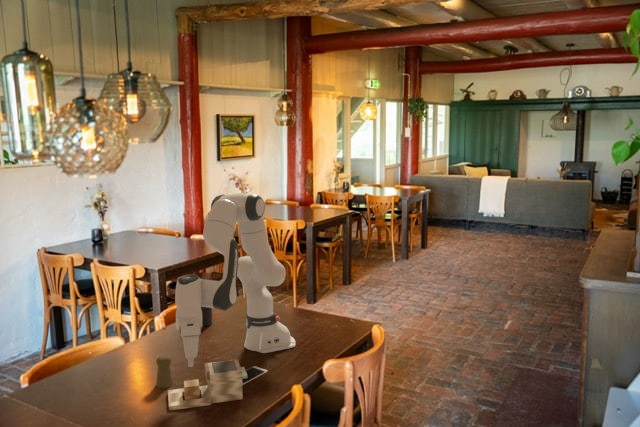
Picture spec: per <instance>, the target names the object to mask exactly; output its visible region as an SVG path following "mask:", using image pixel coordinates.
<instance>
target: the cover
mask: <svg viewBox="0 0 640 427" xmlns="http://www.w3.org/2000/svg"><path fill="white" fill-rule="evenodd" d="M208 363H209V362H205V363H204V374H205V375H204V376H205V379H206V383H207V384H208V383H210V371H209V367H208ZM240 367H241V369H242V379H244V378H247V373H246V371H245V370H246V369H245V366H240Z"/></svg>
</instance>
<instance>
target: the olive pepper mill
mask: <svg viewBox="0 0 640 427" xmlns="http://www.w3.org/2000/svg"><path fill="white" fill-rule="evenodd" d="M171 362H172V358H171V356H170V355H168V354H167V355H166V354H162V355H159V356H158V357H157V358H156V363H155V364H156V365H157V375H156V383H155V384H156V388H158V389H168V388H171V387H172V386H173V384H174V381H173V380H174V379H173V375H172V370H171Z"/></svg>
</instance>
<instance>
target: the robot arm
mask: <svg viewBox="0 0 640 427" xmlns="http://www.w3.org/2000/svg"><path fill="white" fill-rule="evenodd" d="M265 208H266V206H265V201H264V200H263V198H262V197H261V195H258V194H257V193H256V194H255V193H230V194H220V195H219V194H218V195H216V196H215V197H214V198H213V200H212V201H211V203H210V210H209V213H208V215H207V218H206V220H205V224H204V227H203V233H202V238H203V240H204V242H205V243H206V245H207V246H208V247H210V248H211V249H212V250H213V251H215V252H217V253H219V254H221V255H222V256H223V257H224V264H223V273H222V279H220V280H212V279H204V278H200V276H198V275H197V274H193V273H189V274H185V275H181V276H180V277H179V278H177V280H176V285H175V293H174V294H175V306H176V312H175V328H176V330H177V331H178V332H179V333H180V336H181V338H182V343H183V350H184V356H185V359H187V366H188V368H193V367H194V363H195V359H196V358H198V352H199V337H200V335H201V332H202V328H203V326H202V310H201V306H202V307H209V308H212V309H216V310H220V311H227V310H229V309H230V308H232V307H233V306H234V305H235V304H236V301H237V295H238V290H237V289H238V288H237V281H238V279H239V281H240V282H241V284H242V287H243V289H244V293H245V296H246V308H247V309H246V310H247V311H246V312H247V313H246V315H245V316H246V317H245V318H246V319H245V324H246V336H245V341H244V344H243V347H244V348H245V349H246V350H248V351H253V352H258V353H261V354H267V353H273V352H277V351H283V350H287V349H291V348H295V347H296V345H297V344H296V340H295V338H294V337H293V336H291V332H290V330H289V328H288V327H287V326H286V325H284V324H283V323H281V322H280V320H281V317H280V316H279V315H278V314H277V313H275V312H274V310H273V309H274V304H273V303H274V302H273V300H274V297H273V295H272V294H271V292H270V291H269V290H268V288H267V287H278V286H280V285H282V284H283V283H284V281H285V280H286V275H287V272H286V268H285V266H284V265H283V264H282V263H281V262H280V261H278V259H277V257H276V255H275V254H274V252H273V250H272V248H271V246H270V243H269V239H268V234H267V228H266V223H265V218H264V216H263V215H264V214H265V210H266V209H265ZM236 224H238V230H239V231H238V232H239V238H240V242H241V248H242V249H243V251H244V252H245V253H246V255H247V256H240V257H239V255H240V254H239V244H238V241H237V240H235V237H234V233H235V228H236Z"/></svg>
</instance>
